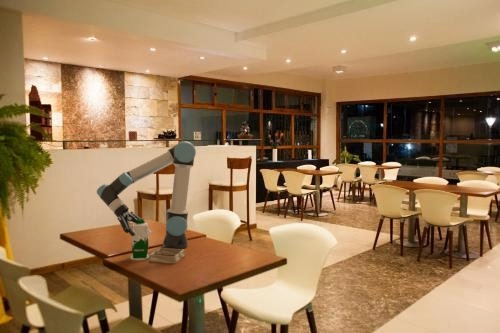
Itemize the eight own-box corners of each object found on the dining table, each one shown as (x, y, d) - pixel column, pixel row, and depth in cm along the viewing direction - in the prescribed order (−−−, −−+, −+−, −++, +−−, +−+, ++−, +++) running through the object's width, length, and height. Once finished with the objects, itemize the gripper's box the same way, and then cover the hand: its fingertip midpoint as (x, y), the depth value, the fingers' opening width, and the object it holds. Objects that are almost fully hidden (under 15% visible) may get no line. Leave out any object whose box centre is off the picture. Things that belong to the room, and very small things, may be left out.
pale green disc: (135, 253, 219) (135, 252, 219) (153, 255, 217) (153, 254, 217) (126, 259, 208) (126, 258, 208) (145, 261, 206) (145, 260, 206)
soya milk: (149, 253, 218) (148, 218, 216) (148, 258, 209) (147, 221, 208) (132, 254, 216) (132, 219, 215) (131, 259, 207) (130, 222, 206)
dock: (160, 253, 220) (160, 247, 220) (184, 255, 218) (184, 249, 217) (149, 261, 206) (149, 254, 206) (174, 263, 203) (175, 256, 203)
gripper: (125, 208, 226) (149, 235, 224) (102, 216, 201) (128, 247, 200) (134, 200, 225) (158, 227, 223) (111, 207, 200) (138, 237, 198)
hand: (144, 236), depth 211 cm, fingers open, 13 cm apart
